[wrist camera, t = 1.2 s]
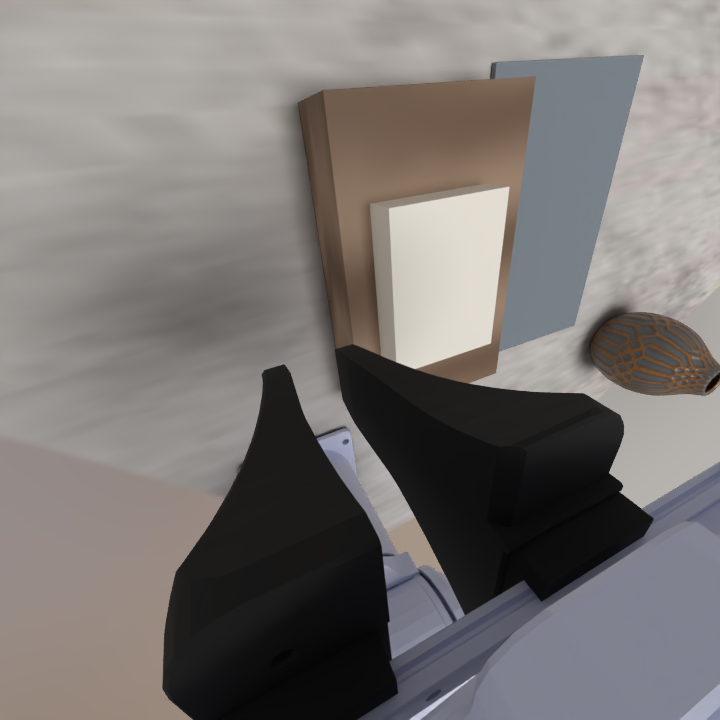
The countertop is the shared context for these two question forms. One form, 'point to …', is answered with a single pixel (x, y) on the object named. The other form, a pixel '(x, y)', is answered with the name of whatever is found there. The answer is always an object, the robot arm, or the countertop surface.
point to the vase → (654, 356)
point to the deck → (408, 183)
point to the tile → (437, 271)
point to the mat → (563, 185)
